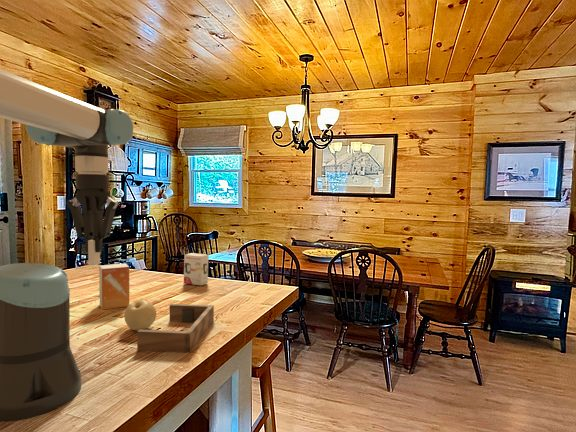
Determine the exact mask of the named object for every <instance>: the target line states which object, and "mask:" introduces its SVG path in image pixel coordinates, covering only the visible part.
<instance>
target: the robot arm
mask: <svg viewBox="0 0 576 432" xmlns="http://www.w3.org/2000/svg"><path fill="white" fill-rule="evenodd" d="M0 119H4V120H7V121H11V122H15V123H19V124H23V125H25V130H26V133H27V135H28V137H29V138H30V139H31V140H32V141H33V142H35V143H38V144H43V145H45V146H55V147H62V148H63V147H64V148H72V149H74V156H75V157H74V159H75V161H74V162H75V163H74V165H75V166H74V167H75V168H74V169H75V173H78V174H76V175H75V188H76V193H75V197H74V198H72V199H70V200H67V201H66V205H67V207H68V208H69V209H70V213H71V217H72V221H73V224H74V228H75V233H76V236H77V237H78V238H82V239H84V244H85V245H84V247H85V249H84V250H85V252H86V253H87V254H88V255H87V258H88V266H90V267H91V266H92V267H93V266H97V265H100V264H101V253H102V252H103V250H104V248H103V244H104V243H103V239H105V238H107V237H110V236H111V234H112V233H111V231H112V227H113V223H114V220H115V219H114V218H115V213H116V210H117V208H118V207H119V205H120V201H118V200H114V199H112V197H111V195H110V193H109V188H110V184H109V183H110V180H109V179H110V178H109V176H108V173H109V146H118V145H126V144H128V143H129V142H130V141H131V140H132V138H133V136H134V123H133V119H132V118H131V117H130V115H129V114H128V113H127V112H126V111H125V110H122V109H114V108H109V109H104V108H100V107H98V106H95V105H93V104H90V103H87V102H85V101H82V100H79V99H77V98H74V97H72V96H70V95H68V94H64V93H62V92H59V91H57V90H55V89H52V88H50V87H47V86H45V85H42V84H40V83H37V82H35V81H32V80H30V79H27V78H24V77H22V76H20V75H16V74H14V73H12V72H9V71H7V70H4V69H2V68H0ZM105 206H107V207H106V209H105ZM68 279H69V277H68V275H67V273H66V271H65V270H64V269H63V268H61V267H59V266H56V265H52V264H49V263H48V264H47V263H42V262H41V263H40V262H39V263H38V262H35V263H30V262H19V263H18V262H17V263H16V262H15V263H8V264H4V265H3V264H2V265H0V422H13V421H20V420H21V421H22V420H26V419H30V418H33V417H37V416H40V415H43V414H46V413H48V412H49V413H50V412H51V411H53V410H56V409H58V408H60V407H61V406H64V405H65V404H67V403H68V402H70V401H71V400H73V398H75V397H76V396H77V395H78V394H79V392H80V391H81V389H82V373H81V370H80V368H79V367H78V365H77V361H76V358H75V356H74V353H73V352H72V349H71V343H70V342H71V341H70V339H71V338H70V337H71V336H70V330H71V329H70V328H71V327H70V323H71V322H70V306H71V305H70V295H71V293H70V292H71V291H70V287H69V281H68Z"/></svg>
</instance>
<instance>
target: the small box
mask: <svg viewBox="0 0 576 432" xmlns="http://www.w3.org/2000/svg"><path fill="white" fill-rule="evenodd" d="M98 271H99V273H98V276H99V281H98V282H99V292H98V293H99V306H100V308H101V310H108V309H109V310H110V309H117V308H123V307H124V308H125V307H126V308H127V307H128V306H129V305H130V266H129V265H128V263H126V262H125V263H113V264H104V265H99V266H98Z"/></svg>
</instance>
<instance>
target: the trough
mask: <svg viewBox="0 0 576 432" xmlns="http://www.w3.org/2000/svg"><path fill="white" fill-rule="evenodd" d="M214 309H215V307H214V305H212V304H209V305H208V304H185V303H184V304H182V303H170V304H169V322H170V321H171V322H172V321H174V322H182V323H193V324H191V326H190V327H189V328H188V329H187V330H165V329H164V330H160V329H144V330H138V331H136V336H137V338H136V339H137V340H136V342H137V347H136V348H137V351H144V352H145V351H147V352H166V353H167V352H170V353H172V352H173V353H191V352H192V350H193V349H194V347H196V345H197V344H198V342H199V341H200V340H201V339H202V337H203V336H204V335H205V333H206V332H207V330H208V329H209V327H210V326H211V325H212V324H213V322H214V319H215V317H214V315H215V314H214V313H215V312H214V311H215V310H214Z"/></svg>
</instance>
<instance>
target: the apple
mask: <svg viewBox="0 0 576 432" xmlns="http://www.w3.org/2000/svg"><path fill="white" fill-rule="evenodd" d="M123 318H124V321H125V323H126V325H127V326H128V328H130V329H131V330H133V331H136V332H137V331H138V330H147V329H148V328H150V327H151V326H152V325H153V324H154V323H155V320H156V319H157V309H156V307H155V305H154V304H153V303H152V302H150V301H149V300H145V299H139V300H136V301H134V302H132V303H129V306H126V309H125V311H124V317H123Z"/></svg>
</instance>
